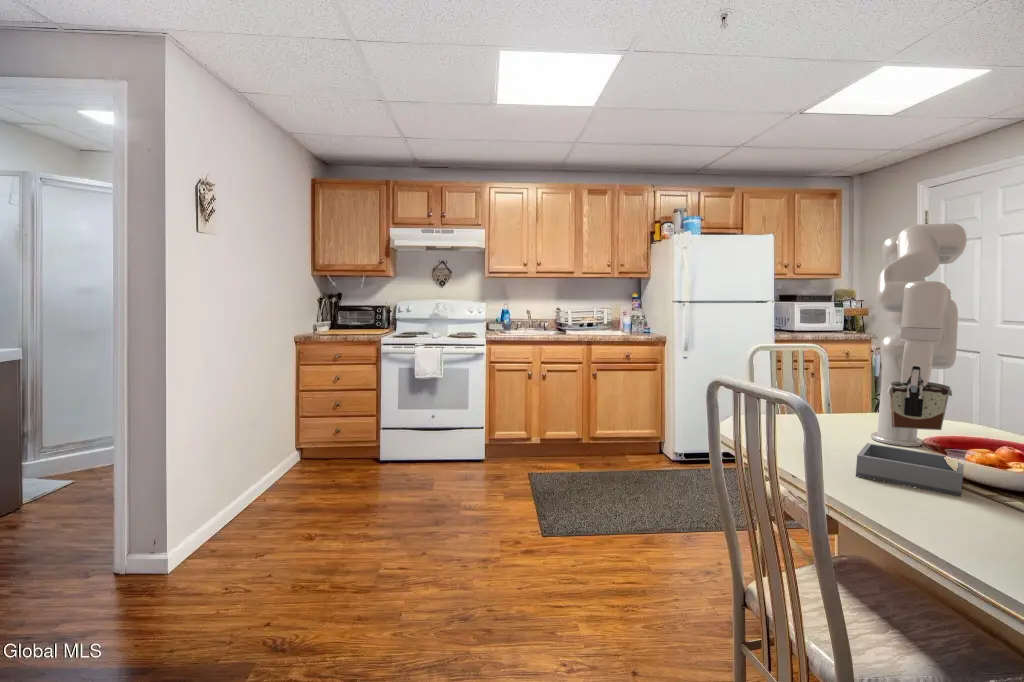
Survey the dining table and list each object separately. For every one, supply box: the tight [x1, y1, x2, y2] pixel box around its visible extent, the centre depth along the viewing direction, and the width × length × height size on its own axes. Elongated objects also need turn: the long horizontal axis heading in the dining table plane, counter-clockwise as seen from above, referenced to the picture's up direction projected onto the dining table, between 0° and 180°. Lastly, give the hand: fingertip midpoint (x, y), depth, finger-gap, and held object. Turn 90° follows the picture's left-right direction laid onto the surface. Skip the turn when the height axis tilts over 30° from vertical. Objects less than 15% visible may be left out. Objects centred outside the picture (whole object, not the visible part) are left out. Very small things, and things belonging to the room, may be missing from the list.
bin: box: [855, 442, 965, 498], centre depth 127 cm, size 15×19×5 cm
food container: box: [887, 381, 953, 431], centre depth 126 cm, size 12×6×10 cm, turn 74°
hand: (914, 413), depth 126 cm, fingers closed on food container, 6 cm apart
